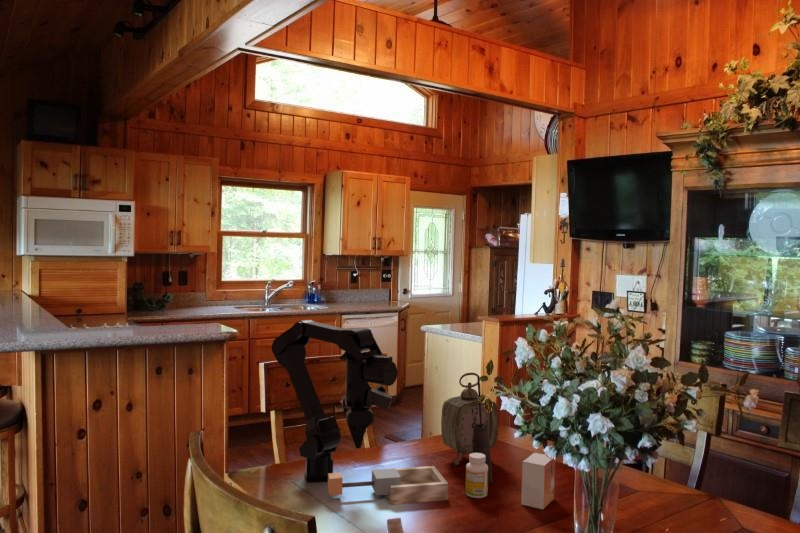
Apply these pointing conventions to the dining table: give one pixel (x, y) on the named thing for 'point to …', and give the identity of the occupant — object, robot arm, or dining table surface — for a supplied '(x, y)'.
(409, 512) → the dining table surface
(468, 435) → the tabletop clock
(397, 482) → the tethered block
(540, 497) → the small box
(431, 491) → the tray
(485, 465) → the supplement bottle
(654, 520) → the dining table surface
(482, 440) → the butter churn
